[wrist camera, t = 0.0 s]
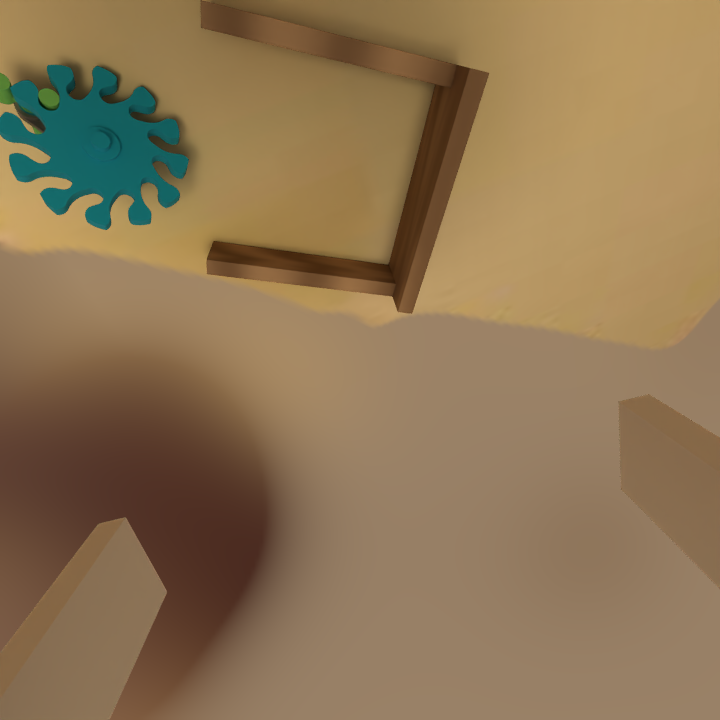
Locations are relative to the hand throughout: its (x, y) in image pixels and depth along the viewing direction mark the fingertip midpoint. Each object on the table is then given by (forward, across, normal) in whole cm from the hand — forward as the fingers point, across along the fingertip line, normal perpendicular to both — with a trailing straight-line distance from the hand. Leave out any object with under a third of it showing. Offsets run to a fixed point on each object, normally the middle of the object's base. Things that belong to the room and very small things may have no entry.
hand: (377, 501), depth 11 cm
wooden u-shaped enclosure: (+26, 0, +10) cm, 28 cm away
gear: (+24, -13, +16) cm, 32 cm away
